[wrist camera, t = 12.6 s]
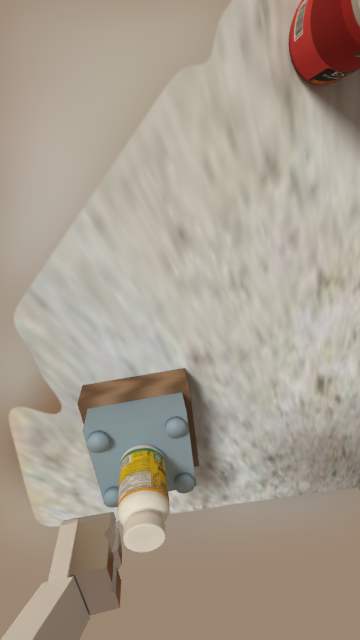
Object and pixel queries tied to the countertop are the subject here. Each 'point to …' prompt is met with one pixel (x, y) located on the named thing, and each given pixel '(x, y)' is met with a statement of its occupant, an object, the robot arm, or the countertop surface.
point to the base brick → (140, 394)
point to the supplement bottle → (143, 498)
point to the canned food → (325, 39)
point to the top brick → (140, 440)
